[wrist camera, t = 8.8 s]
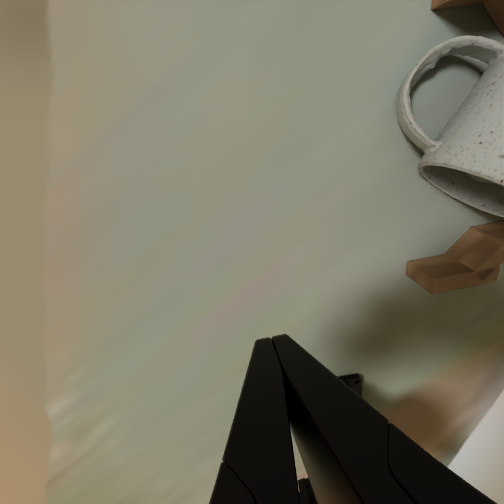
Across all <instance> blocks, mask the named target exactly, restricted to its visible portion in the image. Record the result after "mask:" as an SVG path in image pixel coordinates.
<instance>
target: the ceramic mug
mask: <svg viewBox="0 0 504 504" xmlns="http://www.w3.org/2000/svg"><path fill="white" fill-rule="evenodd" d="M453 54H459V55H462V56H466V55H467V56H470V57H473V58H477V59H479V60H481V61H483V62H485V63H487V64H488V66H489V67H488V68H487V70H486V71H485V72H484V74H483V75H482V77H481V78H480V80H479V81H478V82H477V83H476V85H475V86H474V88H473V89H472V91H471V93H470V94H469V96H468V97H467V99H466V100H465V102H464V103H463V104H462V106H461V107H460V108H459V109H458V111H457V112H456V113H455V115H454V116H453V117H452V118H451V120H450V121H449V122H448V123H447V125H446V126H445V127H444V129H443V130H442V132H440V133H439V135H438V137H437V139H436V140H435V141H434V140H432V139H431V138H430V137H428V136H427V134H426V133H425V132H424V131H423V130H422V129H421V128H420V126H419V125H418V124H417V122H416V121H415V119H414V117H413V114H412V109H411V105H410V104H411V101H410V97H409V93H410V91H411V90H412V88H413V87H414V86H415V84H416V83H417V82H418V81H419V79H420V78H421V77H422V76H423V75H424V74H425V73H426V72H427V71H428V70H430V69H432V68H434V67H435V65H436V63H437V62H438V60H439V59H440V58H441V57H443V56H448V55H453ZM396 112H397V119H398V122H399V124H400V127H401V128H402V130H403V131H404V133H405V134H406V135H407V136H408V138H409V139H410V140H411V141H412V142H413V143H414V144H415V145H416V146H417V147H419V148H420V149H422V150H423V151H424V153H425V154H424V156H423V158H422V159H421V161H420V162H419V166H418V169H419V172H420V174H421V175H422V176H423V177H424V178H425V179H427V180H428V181H429V182H430V183H431V184H432V185H433V186H435V187H437V188H438V189H440V190H441V191H443V192H444V193H446V194H448V195H450V196H451V197H454V198H456V199H458V200H460V201H462V202H464V203H466V204H468V205H470V206H473V207H475V208H477V209H479V210H482V211H485V212H489V213H491V214H493V215H496V216H500V217H503V218H504V46H503V45H502V44H501V43H499V42H496V41H495V40H493V39H488V38H485V37H482V36H467V35H466V36H459V37H456V38H453V39H450V40H447V41H445V42H442V43H441V44H439V45H437V46H435V47H433V48H432V49H430V50H429V51H428V52H427V53H426V54H424V56H423V57H422V58H421V59H420V60H419V61H418V62H417V63H416V64H415V65H414V66H413V68H412V69H411V71H410V72H409V73H408V75H407V76H406V77H405V79H404V81H403V83H402V85H401V87H400V89H399V91H398V95H397V100H396Z"/></svg>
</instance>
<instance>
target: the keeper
mask: <svg viewBox="0 0 504 504" xmlns="http://www.w3.org/2000/svg"><path fill="white" fill-rule="evenodd" d="M475 4H483V5H484V7H485V8H486V10H487V12H488V13H489V15H490V16H491V18H492V19H493V21H494V22H495V24H496V26H497V27H498V29H499V30H500V32H501V33H502V35H503V36H504V0H432V6H431V10H433V9H442V8H450V7H458V6H467V5H475ZM503 262H504V221H499V222H494V223H488V224H483V225H477V226H472V227H470V229H469V230H468V231H467V232H466V233H465V234H464V235H463V236H462V237H461V238H460V239H459V240H458V241H457V242H456V243H455V244H454V245H453V246H452V247H451V248H450V249H449V250H448V251H447V252H446V253H445V254H443V255H438V256H433V257H427V258H422V259H417V260H412V261H407V268H406V275H407V276H408V277H410V278H411V279H412V280H414V281H415V282H416V283H418V284H419V285H420V286H422V287H423V288H424V289H426V290H427V291H428V292H430V293H431V294H434V293H439V292H444V291H449V290H454V289H459V288H464V287H469V286H475V285H480V284H485V283H490V282H495V281H496V280H497V276H498V272H499V268H500V266H499V265H500V264H501V263H503Z"/></svg>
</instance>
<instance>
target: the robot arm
mask: <svg viewBox="0 0 504 504" xmlns="http://www.w3.org/2000/svg"><path fill="white" fill-rule="evenodd" d="M290 428H291V429H290ZM291 430H292V433H293V436H294V439H295V442H296V444H297V447H298V450H299V453H300V455H301V458H302V461H303V464H304V466H305V469H306V472H307V474H308V478H306V479H305V478H302V479H300V480H298V482H297V475H296V467H295V460H294V452H293V445H292V437H291ZM222 461H223V462H222V463H221V465H220V468H219V472H218V475H217V479H216V483H215V486H214V489H213V492H212V495H211V499H210V502H209V504H497V503H495V502H494V501H493V500H491V499H490V498H488V497H487V496H486V495H484V494H483V493H481V492H480V491H478V490H477V489H476V488H474V487H473V486H472V485H470V484H469V483H467V482H466V481H465V480H463V479H462V478H461V477H459V476H458V475H456V474H455V473H454V472H453V471H451V470H450V469H448V468H447V467H446V466H444V465H443V464H442V463H440V462H439V461H438V460H436V459H435V458H434V457H432V456H431V455H430V454H429V453H428V452H426V451H425V450H424V449H423V448H421V447H420V446H419V445H418V444H416V443H415V442H414V441H413V440H411V439H410V438H409V437H408V436H407V435H405V434H404V433H403V432H402V431H401V430H399V429H398V428H397V427H396V426H395V425H394V424H392V423H390V424H389V421H388V420H387V419H386V418H385V417H384V416H383V415H382V414H380V413H379V412H378V411H377V410H376V409H374V408H373V407H372V406H371V405H370V404H369V403H367V402H366V401H365V400H364V399H363V398H362V379H361V377H360V376H359V375H357V374H356V375H351V376H346V377H342V378H338V377H337V376H335V375H334V374H333V373H332V372H331V371H330V370H328V369H327V368H326V367H325V366H324V365H322V364H321V363H320V362H319V361H318V360H316V359H315V358H314V357H313V356H312V355H311V354H309V353H308V352H307V351H306V350H305V349H303V348H302V347H301V346H300V345H299V344H298V343H296V342H295V341H294V340H293V339H292V338H290V337H289V336H288V335H286V334H282V335H277V336H273V337H272V339H271V338H269V337H267V338H262V339H258V340H256V341H255V344H254V348H253V351H252V355H251V359H250V362H249V366H248V369H247V373H246V376H245V380H244V384H243V387H242V391H241V394H240V398H239V401H238V405H237V408H236V412H235V416H234V419H233V423H232V426H231V430H230V433H229V437H228V441H227V444H226V448H225V451H224V455H223V458H222ZM298 485H299V490H298ZM299 491H300V492H299Z"/></svg>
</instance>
